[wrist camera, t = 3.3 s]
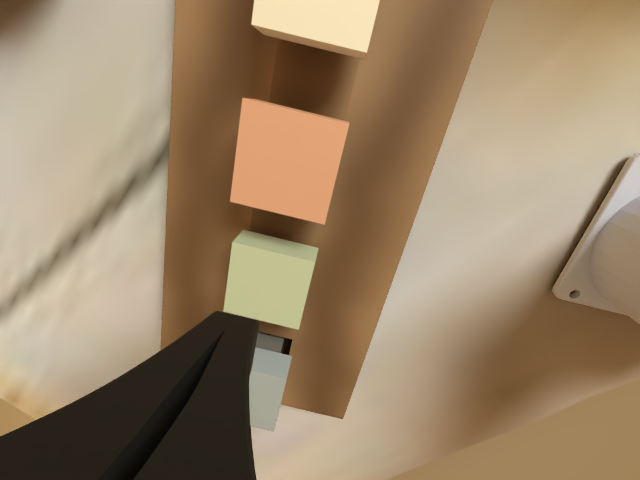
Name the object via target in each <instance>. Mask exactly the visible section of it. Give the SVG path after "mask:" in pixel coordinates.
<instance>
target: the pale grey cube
mask: <svg viewBox="0 0 640 480" xmlns="http://www.w3.org/2000/svg"><path fill="white" fill-rule="evenodd" d="M283 342H284V339H283V338H279V337H275V336H271V335H267V334H263V333H259V332H258V335H257V341H256V347H255V353H254V358H253V364H252V370H251V373H250V377H249V407H250V426H252V427H257V428H261V429H265V430H269V431H273V432H274V429H275V425H276V421H277V417H278V412H279V408H280V404H281V400H282V396H283V392H284V388H285V384H286V380H287V376H288V372H289V367H290V363H291V359H292V356H290V355H286V354H282V353H281V351H282V346H283Z"/></svg>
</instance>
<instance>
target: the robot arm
mask: <svg viewBox="0 0 640 480" xmlns="http://www.w3.org/2000/svg"><path fill="white" fill-rule="evenodd" d="M574 290H575V292H574V293H573V294H571V295H569V294H570V293H571V292H572V291H574ZM552 292H553V294H554V295H555V296H556V297H557V298H559V299H561V300H565V301H570V302H574V303H578V304H582V305H586V306H590V307H594V308H598V309H602V310H607V311H611V312H615V313H619V314H623V315H627V316H629V317H630V318H632V319H633V320H634V321H636V322H637V323H638V324H640V153H637V154H634V155H633V156H631V157H630V158H629V159H628V160H627V161H626V163H625V165H624V166H623V168H622V170H621V172H620V173H619V175H618V177H617V178H616V180H615V182H614V184H613V185H612V187H611V189H610V190H609V192H608V194H607V196H606V197H605V199H604V201H603V202H602V204H601V206H600V208H599V209H598V211H597V213H596V214H595V216H594V218H593V219H592V221H591V223H590V225H589V226H588V228H587V230H586V231H585V233H584V235H583V237H582V238H581V240H580V242H579V243H578V245H577V247H576V249H575V250H574V252H573V254H572V255H571V257H570V259H569V260H568V262H567V264H566V266H565V267H564V269H563V271H562V272H561V274H560V276H559V278H558V279H557V281H556V283H555V284H554V286H553V289H552ZM258 329H259V323H258V321H257V320H255V319H250V318H246V317H242V316H238V315H233V314H229V313H225V312H221V311H215V312H213V313H212V314H210V315H209V316H208V317H206V318H205V319H204V320H203V321H201V322H200V323H199V324H197V325H196V326H195V327H193V328H192V329H191V330H189V331H188V332H186V333H185V334H184V335H182V336H181V337H180V338H178V339H177V340H175V341H174V342H172V343H171V344H170V345H168V346H167V347H165V348H164V349H162V350H161V351H159V352H158V353H156V354H155V355H153V356H152V357H150V358H149V359H147V360H146V361H144V362H142V363H141V364H139V365H138V366H136V367H135V368H133V369H131V370H130V371H128V372H127V373H125V374H123V375H122V376H120V377H118V378H117V379H115V380H113V381H111V382H110V383H108V384H106V385H104V386H103V387H101V388H99V389H97V390H95V391H93V392H92V393H90V394H88V395H86V396H84V397H82V398H80V399H79V400H77V401H75V402H73V403H71V404H69V405H67V406H65V407H63V408H61V409H59V410H57V411H55V412H52V413H50V414H48V415H46V416H44V417H42V418H40V419H38V420H35V421H33V422H31V423H29V424H27V425H25V426H23V427H21V428H19V429H16V430H14V431H12V432H10V433H7V434H5V435H3V436H0V480H256V474H255V467H254V458H253V449H252V439H251V427H250V407H249V377H250V373H251V370H252V364H253V358H254V353H255V347H256V341H257V335H258Z"/></svg>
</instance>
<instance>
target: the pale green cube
mask: <svg viewBox="0 0 640 480" xmlns="http://www.w3.org/2000/svg"><path fill="white" fill-rule="evenodd" d="M318 249H319V248H317V247H312V246H308V245H304V244H300V243H296V242H292V241H288V240H284V239H280V238H276V237H272V236H268V235H263V234H259V233H255V232H251V231H247V230H243V231H242V232H241V233H240V234H239V235H238V236H237V237H236V238H235V240H234V241H233V242H232V248H231V256H230V264H229V271H228V279H227V287H226V294H225V302H224V310H223V312H227V313H232V314H236V315H240V316H244V317H248V318H252V319H256V320H260V321H265V322H269V323H273V324H277V325H281V326H285V327H289V328H293V329H297V330H299V327H300V323H301V318H302V314H303V310H304V306H305V302H306V298H307V294H308V290H309V286H310V282H311V278H312V274H313V270H314V266H315V261H316V257H317V253H318Z"/></svg>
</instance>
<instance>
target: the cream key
mask: <svg viewBox="0 0 640 480" xmlns="http://www.w3.org/2000/svg"><path fill="white" fill-rule="evenodd" d="M379 2H380V0H254V6H253V14H252V23H251V25H253V26H254V27H255V28H256V29H257V30H258V31H260V32H261V33H262V34H263V35H266V36H270V37H275V38H279V39H283V40H287V41H291V42H295V43H299V44H303V45H307V46H311V47H315V48H319V49H323V50H328V51H332V52H336V53H340V54H344V55H348V56H352V57H356V58H360V59H364V60H365V58H366V54H367V50H368V46H369V42H370V38H371V34H372V30H373V26H374V22H375V18H376V14H377V10H378V6H379Z"/></svg>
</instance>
